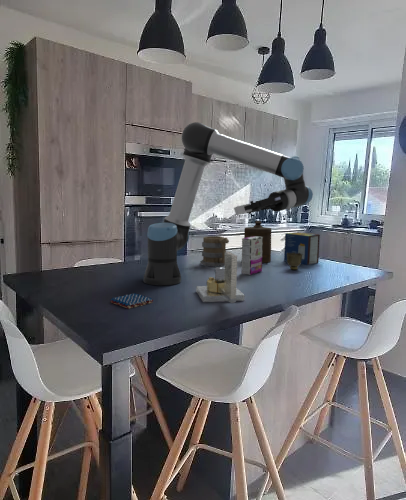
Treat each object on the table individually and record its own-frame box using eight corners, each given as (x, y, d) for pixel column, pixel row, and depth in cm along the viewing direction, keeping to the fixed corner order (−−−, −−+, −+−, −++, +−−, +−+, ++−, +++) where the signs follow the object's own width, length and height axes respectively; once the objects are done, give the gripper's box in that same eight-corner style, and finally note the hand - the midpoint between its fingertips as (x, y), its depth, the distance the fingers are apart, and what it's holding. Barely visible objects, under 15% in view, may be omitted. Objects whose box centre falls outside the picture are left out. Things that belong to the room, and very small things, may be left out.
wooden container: (252, 257, 214) (253, 219, 211) (275, 260, 205) (277, 220, 202) (238, 260, 203) (239, 220, 200) (261, 264, 193) (263, 222, 190)
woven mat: (155, 304, 121) (155, 298, 121) (128, 311, 113) (128, 304, 113) (135, 297, 128) (135, 292, 128) (108, 304, 120) (108, 297, 120)
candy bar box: (252, 270, 177) (254, 236, 175) (262, 271, 174) (263, 236, 172) (240, 273, 168) (241, 237, 166) (250, 275, 165) (251, 238, 163)
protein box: (295, 259, 211) (296, 232, 209) (318, 263, 200) (320, 234, 197) (283, 261, 205) (284, 233, 202) (307, 265, 193) (308, 235, 191)
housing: (203, 302, 122) (203, 272, 120) (196, 291, 135) (196, 264, 134) (244, 300, 124) (245, 271, 123) (233, 290, 138) (234, 263, 137)
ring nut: (205, 287, 133) (205, 246, 131) (228, 286, 134) (229, 246, 132) (219, 304, 111) (220, 256, 109) (246, 303, 113) (248, 255, 111)
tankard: (197, 262, 195) (197, 234, 193) (218, 261, 200) (219, 233, 198) (214, 269, 177) (215, 238, 175) (237, 268, 182) (238, 237, 180)
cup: (303, 271, 176) (304, 254, 175) (287, 270, 177) (288, 254, 175) (299, 268, 184) (300, 252, 183) (284, 267, 184) (285, 252, 183)
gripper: (297, 204, 136) (251, 215, 123) (272, 214, 147) (228, 226, 133) (290, 185, 137) (244, 194, 123) (266, 196, 147) (221, 206, 134)
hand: (236, 210), depth 128 cm, fingers closed
